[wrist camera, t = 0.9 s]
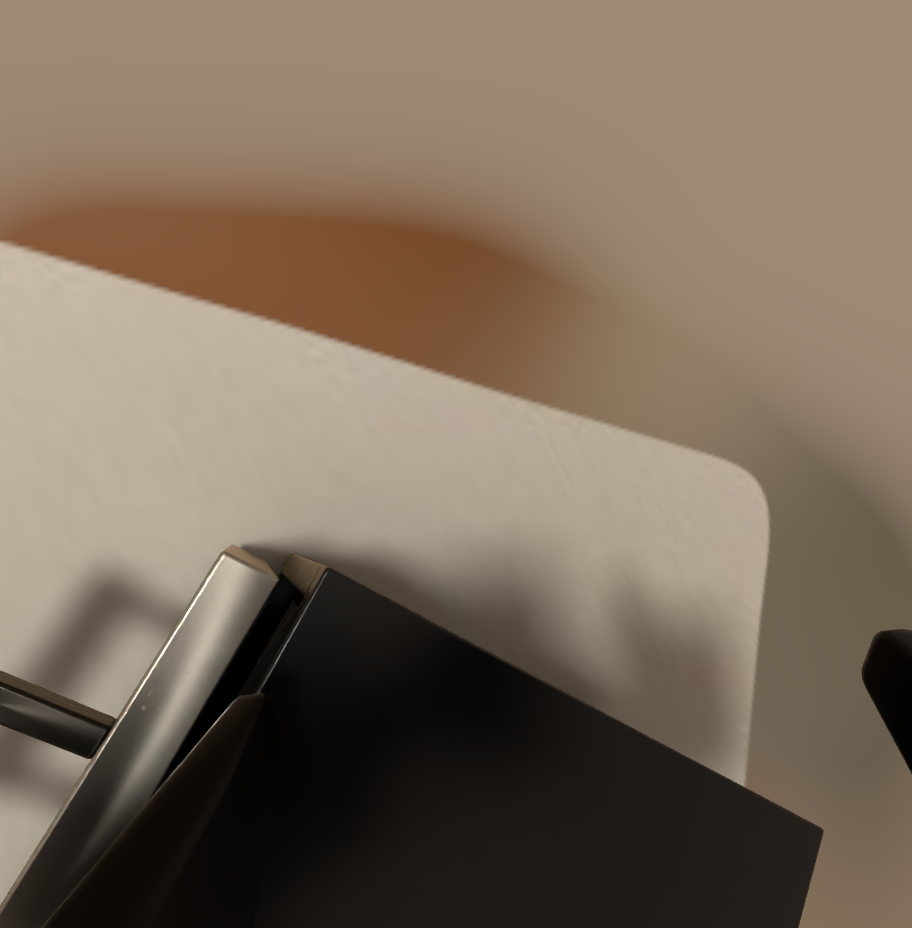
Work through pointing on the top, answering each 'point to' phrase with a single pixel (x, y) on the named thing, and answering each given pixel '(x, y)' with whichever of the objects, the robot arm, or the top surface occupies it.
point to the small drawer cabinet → (484, 789)
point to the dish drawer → (133, 730)
